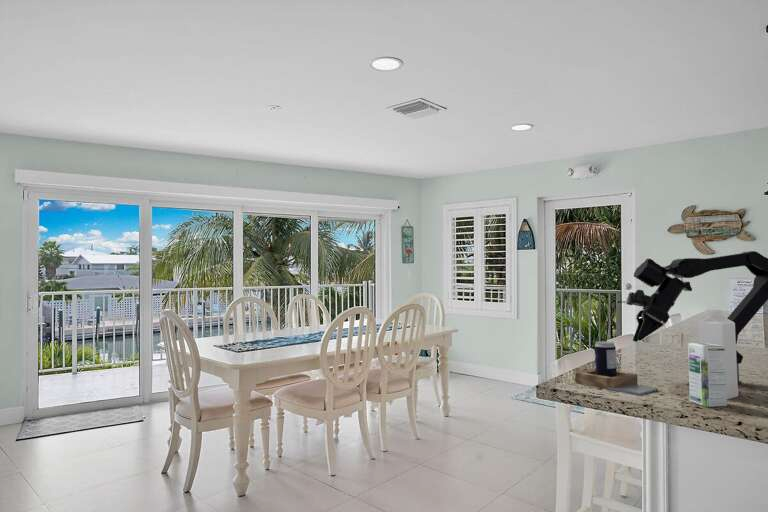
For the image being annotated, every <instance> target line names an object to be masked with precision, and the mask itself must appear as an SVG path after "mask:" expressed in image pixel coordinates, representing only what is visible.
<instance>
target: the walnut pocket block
mask: <svg viewBox="0 0 768 512" xmlns="http://www.w3.org/2000/svg"><path fill="white" fill-rule="evenodd" d="M616 373H617V376H614V377H607V376H601V375H595V368H592V369H588V370H587V369H586V370H582V371H577V372H575V373H574V376H575V377H574V380H575V381H574V382H575V384H579V385H584V386H590V387H595V388H601V389H605V390H608V387H611V388H616V387H620V386H624V385H628V384H634V385H639V384H638V373H633V372H626V371H621V370H620V371H619V370H616Z"/></svg>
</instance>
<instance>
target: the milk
mask: <svg viewBox="0 0 768 512" xmlns="http://www.w3.org/2000/svg"><path fill="white" fill-rule="evenodd" d="M708 313H709V316H708V317H706V318H705V319H702V320H700V321H698V324H697V325H698V343H709V344H714V345H720V346H725V365H726V392H727V400H729V399H734V398H737V397H739V384H738V381H737V359H736V351H737V344H736V337H735V323H734V322H733V321H731V320H729V319H727V318H728V317H726V316H724V315H723V310H722V309H719V310H718V309H717V310H710V311H709V312H708Z"/></svg>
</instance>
